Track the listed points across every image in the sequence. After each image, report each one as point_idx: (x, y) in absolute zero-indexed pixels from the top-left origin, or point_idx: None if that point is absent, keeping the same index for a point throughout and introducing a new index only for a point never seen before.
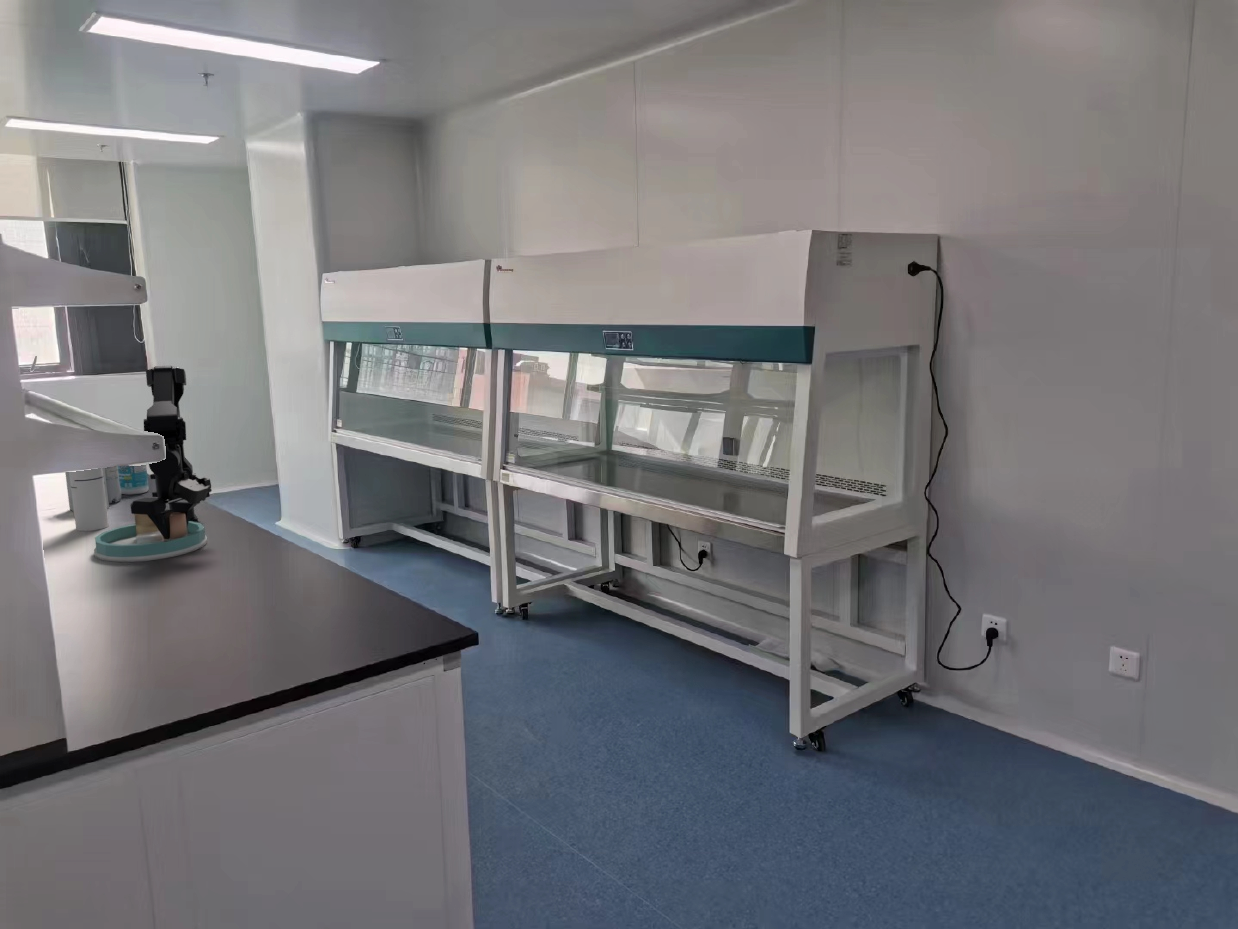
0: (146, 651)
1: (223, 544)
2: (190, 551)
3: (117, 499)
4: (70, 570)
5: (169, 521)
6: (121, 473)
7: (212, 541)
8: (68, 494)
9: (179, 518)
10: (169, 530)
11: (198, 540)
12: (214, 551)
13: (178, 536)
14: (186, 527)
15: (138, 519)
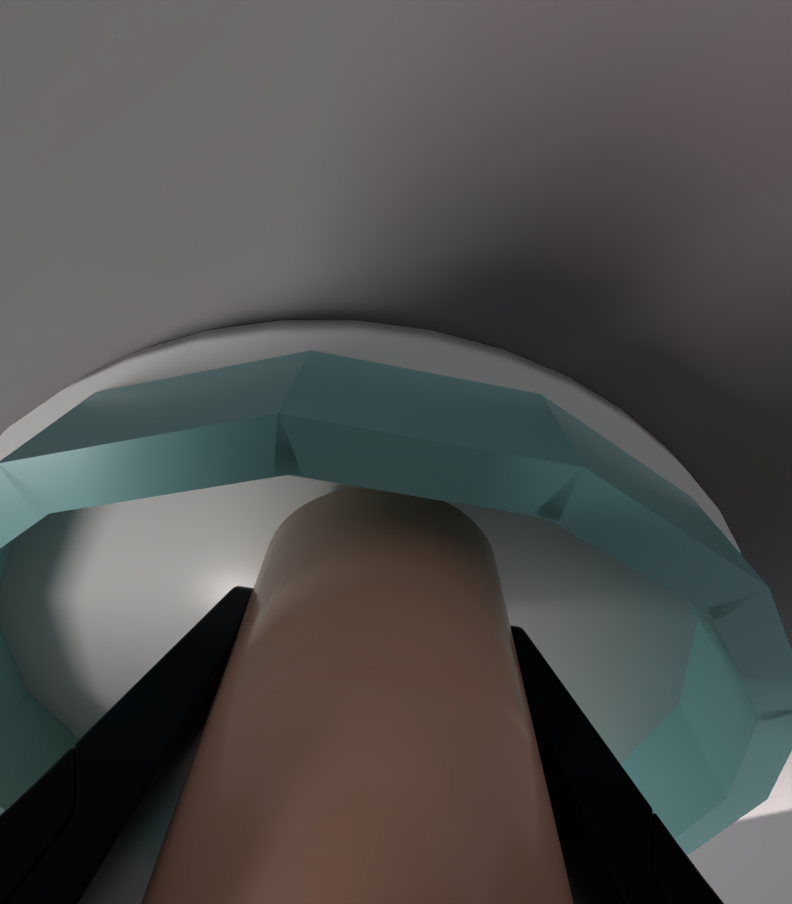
0: None
1: (120, 67)
2: (507, 351)
3: None
4: (781, 786)
5: (630, 894)
6: None
7: (58, 317)
8: None
9: (491, 876)
10: (548, 716)
11: (320, 369)
12: (499, 2)
13: (480, 574)
14: (321, 614)
15: None
